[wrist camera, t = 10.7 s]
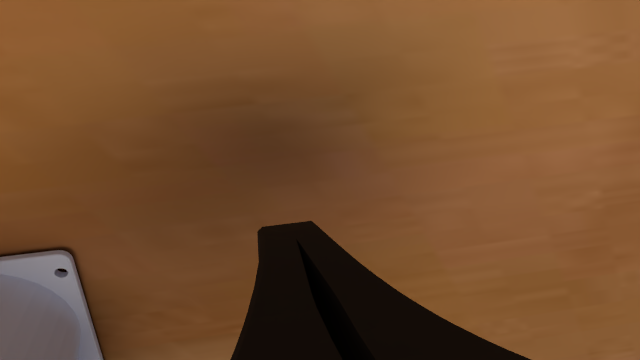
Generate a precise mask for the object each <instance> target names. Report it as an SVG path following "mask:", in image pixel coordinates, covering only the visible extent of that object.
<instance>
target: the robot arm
mask: <svg viewBox="0 0 640 360" xmlns="http://www.w3.org/2000/svg"><path fill="white" fill-rule="evenodd" d="M258 254H259V264H258V270H257V275H256V281H255V286H254V290H253V294H252V298H251V301H250V305H249V309H248V313H247V316H246V319H245V322H244V325H243V328H242V331H241V334H240V337H239V339H238V342H237V345H236V347H235V350H234V353H233V355H232V357H231V360H531V359H528V358H526V357H524V356H521V355H519V354H516V353H514V352H511V351H509V350H507V349H504V348H502V347H500V346H498V345H496V344H493V343H491V342H489V341H487V340H485V339H482V338H480V337H478V336H476V335H474V334H472V333H470V332H468V331H466V330H464V329H462V328H460V327H458V326H456V325H454V324H453V323H451V322H449V321H447V320H445V319H443V318H441V317H440V316H438V315H436V314H434V313H433V312H431V311H429V310H428V309H426V308H424V307H423V306H421V305H419V304H418V303H416V302H414V301H413V300H411V299H409V298H408V297H406V296H405V295H403V294H402V293H400V292H399V291H397V290H396V289H394V288H393V287H391V286H390V285H389V284H387V283H386V282H384V281H383V280H382V279H380V278H379V277H377V276H376V275H375V274H373V273H372V272H371V271H369V270H368V269H367V268H366V267H364V266H363V265H362V264H361V263H359V262H358V261H357V260H356V259H355V258H353V257H352V256H351V255H350V254H348V253H347V252H346V251H345V250H344V249H343V248H342V247H340V246H339V245H338V244H337V243H336V242H335V241H334V240H332V239H331V238H330V237H329V236H328V235H327V234H326V233H325V232H323V231H322V230H321V229H320V228H319V227H318V226H317V225H316V224H314V223H313V222H312V221H307V222H299V223H290V224H282V225H274V226H266V227H262V228H261V229H260V230H259V231H258ZM59 268H63V269H65V270H67V272H61V271H59V270H58V269H59ZM0 360H103V357H102V353H101V350H100V347H99V343H98V340H97V337H96V333H95V330H94V327H93V323H92V320H91V316H90V313H89V310H88V306H87V303H86V300H85V296H84V293H83V290H82V286H81V283H80V280H79V276H78V273H77V270H76V266H75V263H74V260H73V257H72V255H71V254H70V253H68V252H67V251H63V250H54V251H46V252H38V253H30V254H21V255H13V256H5V257H0Z"/></svg>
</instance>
